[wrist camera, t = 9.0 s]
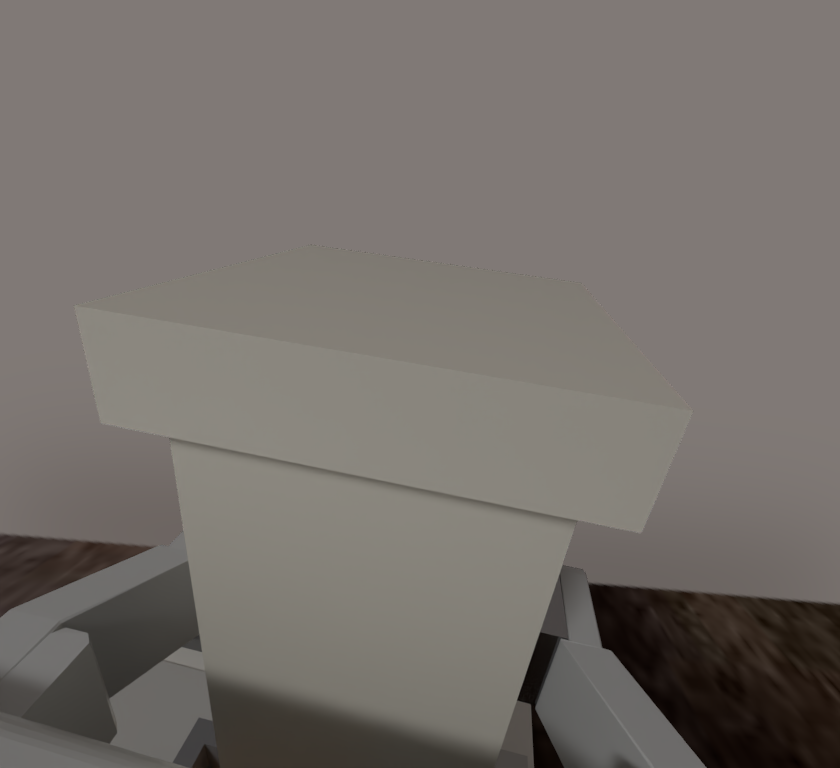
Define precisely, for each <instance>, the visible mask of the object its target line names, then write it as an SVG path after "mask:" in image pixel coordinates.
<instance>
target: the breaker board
mask: <svg viewBox="0 0 840 768" xmlns="http://www.w3.org/2000/svg"><path fill="white" fill-rule="evenodd" d="M110 702H111V705H112V708H113V711H114V715H115V718H116V721H117V734H116V736H115V737H114V738H113V740H112V741H111V743H110V744H111V745H115V746H118V747H121V748H125V749H128V750H131V751H135V752H138V753H141V754H145V755H148V756H151V757H155V758H158V759H161V760H165V761H168V762H171V763H175V764H178V765H182V766H185V767H188V768H220V765H219V758H218V752H217V745H216V739H215V732H214V726H213V719H212V713H211V706H210V700H209V693H208V687H207V680H206V674H205V667H204V661H203V654H202V648H201V641H200V634H199V635H198V636H196V637H195V638H193V639H192V640H191V641H189V642H188V643H186V644H185V645H184V646H182V647H181V648H179V649H178V650H177V651H175V652H174V653H172V654H171V655H170V656H168V657H167V658H165V659H164V660H163V661H161V662H160V663H158V664H157V665H156V666H154V667H153V668H152V669H150V670H149V671H147V672H146V673H145V674H143V675H142V676H140V677H139V678H138V679H136V680H135V681H133V682H132V683H131V684H129V685H128V686H126V687H125V688H124V689H122V690H121V691H119V692H118V693H117V694H115V695H114V696H112V697H111V698H110ZM494 768H534V758H533V738H532V718H531V704H528V703H524V702H521V701H517V702H516V705H515V708H514V711H513V714H512V717H511V719H510V722H509V725H508V728H507V731H506V734H505V737H504V740H503V743H502V746H501V749H500V752H499V755H498V758H497V761H496V764H495V767H494Z"/></svg>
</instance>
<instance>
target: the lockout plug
mask: <svg viewBox="0 0 840 768" xmlns="http://www.w3.org/2000/svg"><path fill="white" fill-rule="evenodd" d="M74 309H75V313H76V317H77V322H78V326H79V331H80V335H81V340H82V344H83V348H84V353H85V357H86V362H87V366H88V370H89V375H90V379H91V384H92V388H93V392H94V397H95V401H96V406H97V410H98V414H99V419H100V423H101V424H107V425H111V426H116V427H121V428H126V429H131V430H136V431H141V432H146V433H151V434H155V435H161V436H166V437H169V439H170V446H171V452H172V459H173V465H174V471H175V478H176V485H177V491H178V498H179V504H180V511H181V517H182V524H183V530H184V537H185V543H186V550H187V556H188V563H189V569H190V576H191V582H192V589H193V595H194V602H195V608H196V615H197V621H198V628H199V634H200V641H201V648H202V654H203V661H204V667H205V674H206V680H207V687H208V693H209V700H210V706H211V713H212V719H213V726H214V732H215V739H216V745H217V752H218V758H219V765H220V768H494V767H495V764H496V761H497V758H498V755H499V752H500V749H501V746H502V743H503V740H504V737H505V734H506V731H507V728H508V725H509V722H510V719H511V717H512V714H513V711H514V708H515V705H516V702H517V699H518V696H519V693H520V690H521V687H522V684H523V681H524V678H525V675H526V672H527V669H528V666H529V663H530V660H531V657H532V654H533V651H534V648H535V645H536V642H537V639H538V636H539V633H540V630H541V627H542V624H543V621H544V619H545V616H546V613H547V610H548V607H549V604H550V601H551V598H552V595H553V592H554V589H555V586H556V583H557V580H558V577H559V574H560V571H561V568H562V565H563V562H564V559H565V556H566V553H567V550H568V547H569V544H570V541H571V538H572V535H573V532H574V529H575V526H576V523H577V521H582V522H587V523H592V524H597V525H602V526H607V527H612V528H617V529H622V530H627V531H631V532H637V533H642V531H643V529H644V527H645V524H646V522H647V519H648V517H649V515H650V513H651V510H652V508H653V506H654V503H655V501H656V498H657V496H658V494H659V491H660V489H661V487H662V484H663V482H664V480H665V477H666V475H667V472H668V470H669V468H670V465H671V463H672V461H673V458H674V456H675V453H676V451H677V449H678V446H679V444H680V442H681V439H682V437H683V435H684V432H685V430H686V428H687V425H688V422H689V420H690V418H691V416H692V413H693V410H692V409H691V408H690V406H689V405H688V404H687V403H686V402H685V401H684V399H683V398H682V397H681V396H680V395H679V394H678V393H677V392H676V390H675V389H674V388H673V387H672V386H671V385H670V383H669V382H668V381H667V380H666V379H665V378H664V377H663V375H662V374H661V373H660V372H659V371H658V370H657V369H656V367H655V366H654V365H653V364H652V363H651V362H650V361H649V360H648V358H647V357H646V356H645V355H644V354H643V353H642V352H641V350H640V349H639V348H638V347H637V346H636V345H635V344H634V342H633V341H632V340H631V339H630V338H629V337H628V336H627V334H626V333H625V332H624V331H623V330H622V329H621V328H620V326H619V325H618V324H617V323H616V322H615V321H614V320H613V318H612V317H611V316H610V315H609V314H608V313H607V312H606V310H605V309H604V308H603V307H602V306H601V305H600V304H599V303H598V301H596V299H595V298H594V297H593V296H592V294H591V293H590V292H589V291H588V290H587V289H586V288H585V286H584V285H583V284H582V283H578V282H571V281H564V280H557V279H550V278H542V277H536V276H529V275H522V274H514V273H508V272H500V271H493V270H486V269H479V268H472V267H465V266H458V265H451V264H444V263H437V262H430V261H423V260H415V259H409V258H401V257H395V256H387V255H380V254H373V253H366V252H359V251H352V250H345V249H338V248H331V247H324V246H316V245H308V246H304V247H300V248H296V249H292V250H288V251H285V252H281V253H277V254H273V255H269V256H265V257H261V258H257V259H253V260H250V261H245V262H242V263H238V264H234V265H230V266H226V267H222V268H219V269H214V270H210V271H207V272H203V273H199V274H195V275H191V276H187V277H183V278H179V279H175V280H171V281H168V282H164V283H160V284H156V285H152V286H148V287H144V288H140V289H136V290H132V291H129V292H125V293H121V294H117V295H113V296H109V297H105V298H101V299H97V300H93V301H90V302H86V303H82V304H78V305H74Z"/></svg>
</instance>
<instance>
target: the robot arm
mask: <svg viewBox="0 0 840 768" xmlns="http://www.w3.org/2000/svg"><path fill="white" fill-rule="evenodd" d="M198 635H199V628H198V621H197V615H196V608H195V602H194V595H193V589H192V582H191V576H190V569H189V563H188V556H187V550H186V543H185V537H184V530H183V531H182V532H181V534H179V535H178V537H177V538H176V539H175V540H174V541H173V542H172V543H171V544H170V545H169V546H165V545H159V546H157V547H155V548H152V549H150V550H148V551H145V552H143V553H141V554H138V555H136V556H134V557H132V558H129V559H127V560H125V561H122V562H120V563H118V564H115V565H113V566H111V567H108V568H106V569H104V570H101V571H99V572H97V573H94V574H92V575H90V576H87V577H85V578H83V579H80V580H78V581H76V582H73V583H71V584H69V585H66V586H64V587H62V588H59V589H57V590H55V591H52V592H50V593H48V594H45V595H43V596H41V597H38V598H36V599H34V600H31V601H29V602H27V603H24V604H22V605H20V606H17V607H15V608H13V609H10V610H9V611H8V612H7V613H6V614H4V615H3V616H2V617H1V618H0V768H188V767H185V766H182V765H178V764H175V763H171V762H168V761H165V760H161V759H158V758H155V757H151V756H148V755H145V754H141V753H138V752H135V751H131V750H128V749H125V748H121V747H118V746H115V745H111V744H110V743H111V741H112V740H113V738H114V737H115V736H116V734H117V721H116V718H115V715H114V711H113V708H112V705H111V702H110V698H111V697H112V696H114V695H115V694H117V693H118V692H119V691H121V690H122V689H124V688H125V687H126V686H128V685H129V684H131V683H132V682H133V681H135V680H136V679H138V678H139V677H140V676H142V675H143V674H145V673H146V672H147V671H149V670H150V669H152V668H153V667H154V666H156V665H157V664H158V663H160V662H161V661H163V660H164V659H165V658H167V657H168V656H170V655H171V654H172V653H174V652H175V651H177V650H178V649H179V648H181V647H182V646H184V645H185V644H186V643H188V642H189V641H191V640H192V639H193V638H195V637H196V636H198ZM517 701H521V702H524V703H528V704H531V705H535V706H536V707H535V709H536V711H537V713H538V715H539V717H540V719H541V721H542V723H543V726H544V728H545V730H546V732H547V734H548V736H549V738H550V740H551V742H552V744H553V746H554V748H555V750H556V752H557V754H558V756H559V758H560V760H561V762H562V764H563V766H564V768H706V767H705V765H704V764H703V763H702V762H701V760H700V759H699V758H698V757H697V755H696V754H695V753H694V752H693V751H692V749H691V748H690V747H689V746H688V744H687V743H686V742H685V741H684V740H683V738H682V737H681V736H680V735H679V733H678V732H677V731H676V730H675V728H674V727H673V726H672V725H671V724H670V722H669V721H668V720H667V719H666V717H665V716H664V715H663V714H662V712H661V711H660V710H659V709H658V708H657V706H656V705H655V704H654V703H653V701H652V700H651V699H650V698H649V696H648V695H647V694H646V693H645V692H644V690H643V689H642V688H641V687H640V685H639V684H638V683H637V682H636V680H635V679H634V678H633V677H632V676H631V674H630V673H629V672H628V671H627V669H626V668H625V667H624V666H623V665H622V663H621V662H620V661H619V660H618V658H617V657H616V656H615V655H614V653H613V652H612V651H611V650H607V649H603V648H602V644H601V639H600V635H599V630H598V626H597V621H596V617H595V612H594V608H593V603H592V599H591V594H590V590H589V585H588V581H587V577H586V573H585V572H584V571H583V570H582V569H578V568H573V567H569V566H564V565H562V568H561V571H560V574H559V577H558V580H557V583H556V586H555V589H554V592H553V595H552V598H551V601H550V604H549V607H548V610H547V613H546V616H545V619H544V621H543V624H542V627H541V630H540V633H539V636H538V639H537V642H536V645H535V648H534V651H533V654H532V657H531V660H530V663H529V666H528V669H527V672H526V675H525V678H524V681H523V684H522V687H521V690H520V693H519V696H518V699H517Z"/></svg>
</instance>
